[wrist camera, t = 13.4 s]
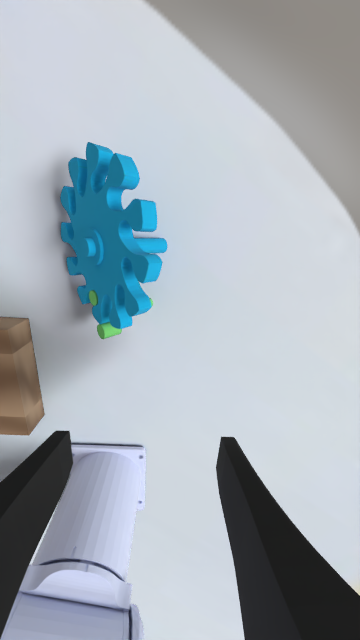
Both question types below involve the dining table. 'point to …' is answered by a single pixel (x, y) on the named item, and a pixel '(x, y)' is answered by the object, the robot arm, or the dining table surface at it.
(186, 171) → the dining table surface
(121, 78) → the dining table surface
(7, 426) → the socket block
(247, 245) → the dining table surface
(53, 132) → the dining table surface
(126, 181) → the gear
